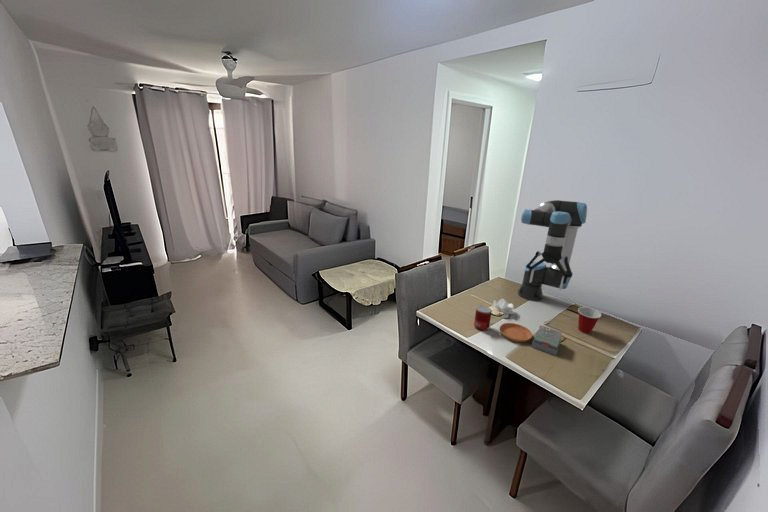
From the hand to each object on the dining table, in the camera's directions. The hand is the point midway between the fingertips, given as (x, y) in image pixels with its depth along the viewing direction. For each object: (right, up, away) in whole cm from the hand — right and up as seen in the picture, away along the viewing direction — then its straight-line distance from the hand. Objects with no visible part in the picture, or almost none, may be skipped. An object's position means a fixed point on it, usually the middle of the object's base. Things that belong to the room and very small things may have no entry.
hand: (545, 285), depth 151 cm
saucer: (-11, -28, +10) cm, 32 cm away
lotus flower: (-9, -20, +33) cm, 40 cm away
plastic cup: (+30, -27, +16) cm, 43 cm away
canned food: (-26, -25, +17) cm, 40 cm away
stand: (+1, -30, +2) cm, 30 cm away
